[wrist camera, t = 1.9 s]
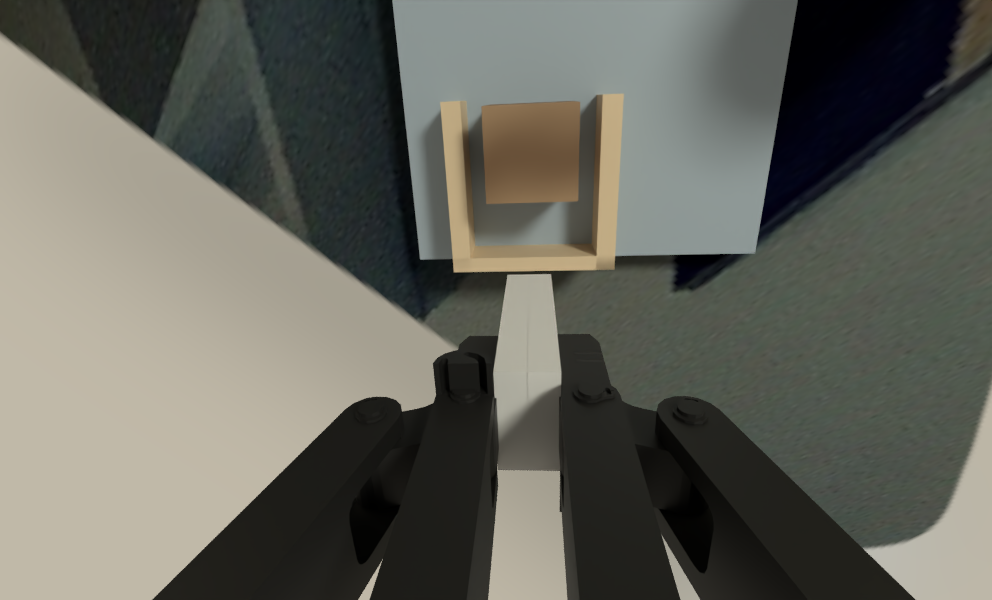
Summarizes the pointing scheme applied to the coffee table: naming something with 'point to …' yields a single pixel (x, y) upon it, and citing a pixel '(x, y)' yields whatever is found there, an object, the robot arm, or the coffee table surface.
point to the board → (595, 124)
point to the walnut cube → (531, 152)
